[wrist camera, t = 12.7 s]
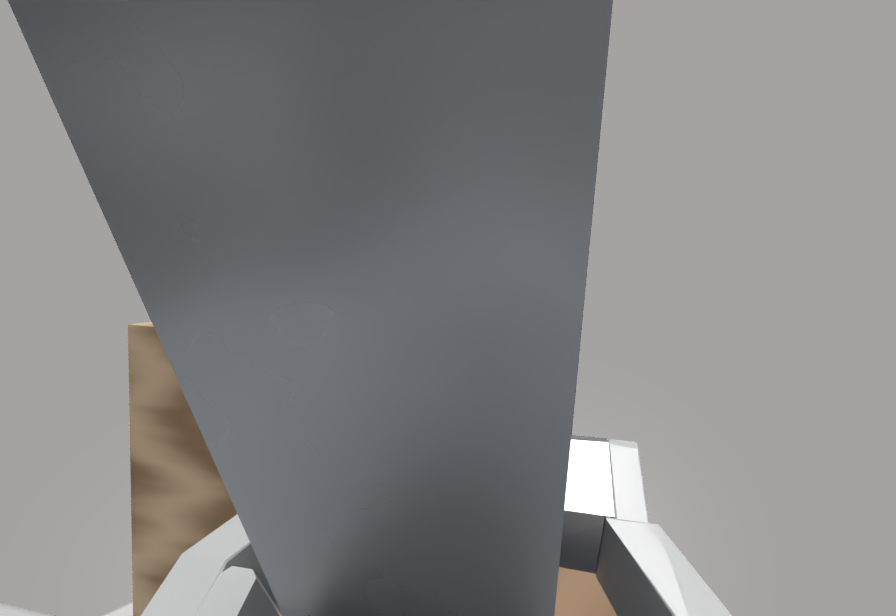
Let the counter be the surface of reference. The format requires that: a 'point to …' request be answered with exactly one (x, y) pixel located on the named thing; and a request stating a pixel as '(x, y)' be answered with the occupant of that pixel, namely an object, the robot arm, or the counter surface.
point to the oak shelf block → (166, 469)
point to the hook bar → (357, 268)
